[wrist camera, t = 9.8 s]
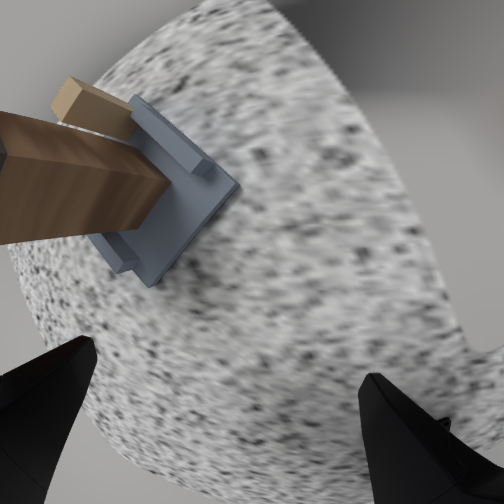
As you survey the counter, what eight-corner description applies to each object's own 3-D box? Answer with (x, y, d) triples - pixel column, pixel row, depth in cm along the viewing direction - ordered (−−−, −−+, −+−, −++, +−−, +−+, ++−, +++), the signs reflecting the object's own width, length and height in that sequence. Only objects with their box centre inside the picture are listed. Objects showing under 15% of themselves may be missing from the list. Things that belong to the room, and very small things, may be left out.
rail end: (174, 181, 19) (-10, 152, 6) (138, 232, 20) (-34, 255, 7) (136, 144, 20) (-24, 102, 6) (104, 193, 21) (-50, 189, 7)
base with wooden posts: (239, 184, 19) (187, 165, 11) (155, 285, 22) (84, 315, 14) (141, 97, 20) (76, 63, 12) (79, 189, 23) (10, 187, 15)
